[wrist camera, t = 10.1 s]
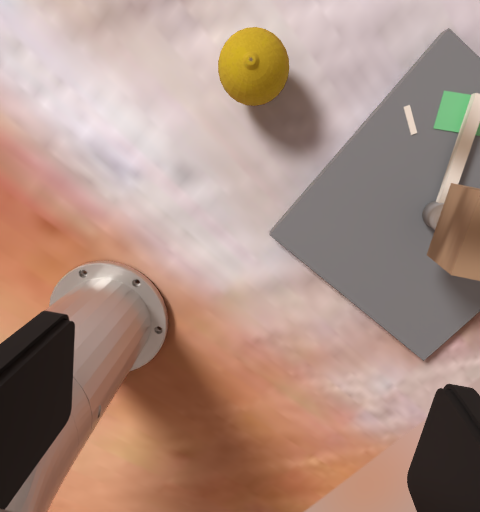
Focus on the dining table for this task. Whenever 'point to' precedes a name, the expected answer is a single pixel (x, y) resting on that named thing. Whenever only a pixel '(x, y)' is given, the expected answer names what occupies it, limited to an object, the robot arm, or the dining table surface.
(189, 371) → the dining table surface
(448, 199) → the wooden block with handle
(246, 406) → the dining table surface
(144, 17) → the dining table surface
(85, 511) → the dining table surface
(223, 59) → the lemon
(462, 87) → the board
